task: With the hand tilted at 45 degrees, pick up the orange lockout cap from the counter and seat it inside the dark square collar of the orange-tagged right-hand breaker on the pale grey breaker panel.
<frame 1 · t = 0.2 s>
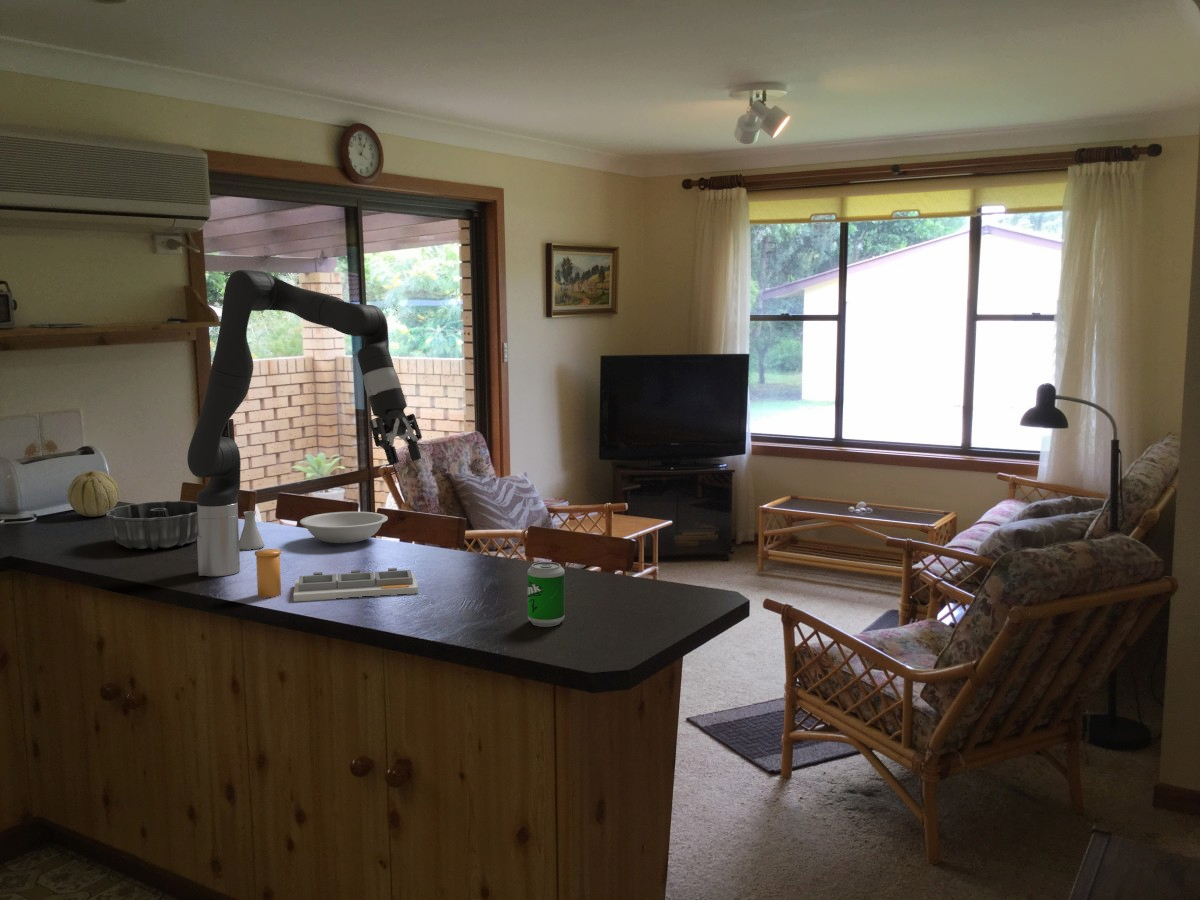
hand: (405, 462, 216), 31 cm above the table, tool tilted 20°, fingers open, 8 cm apart
breaker panel: (356, 589, 227), on the table
bundt pan: (160, 544, 276), on the table
lockout cap: (269, 595, 222), on the table
cantaloupe: (94, 516, 316), on the table
flask: (251, 548, 271), on the table
soda can: (546, 623, 202), on the table
soup bowl: (344, 542, 279), on the table
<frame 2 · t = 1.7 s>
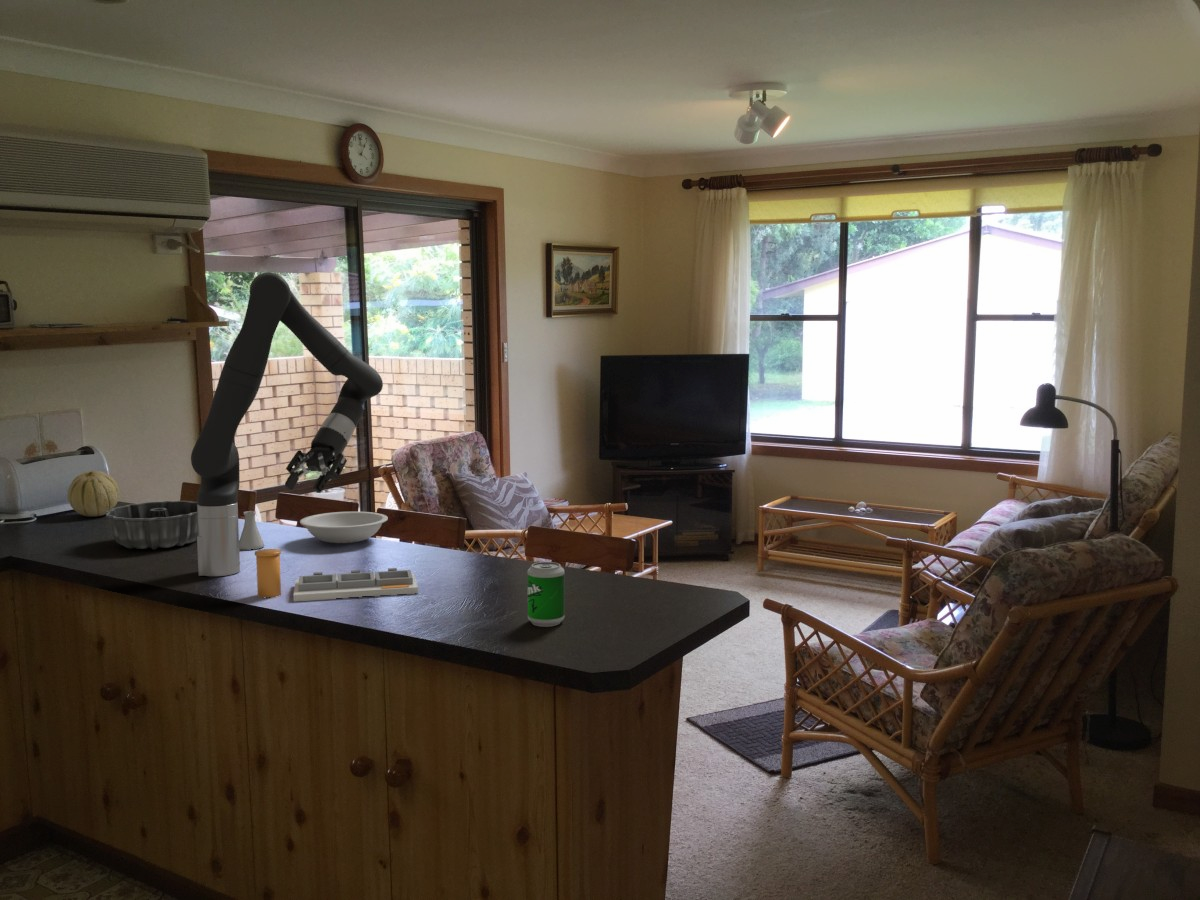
hand: (302, 489, 230), 22 cm above the table, tool tilted 45°, fingers open, 8 cm apart
nothing on the table moved.
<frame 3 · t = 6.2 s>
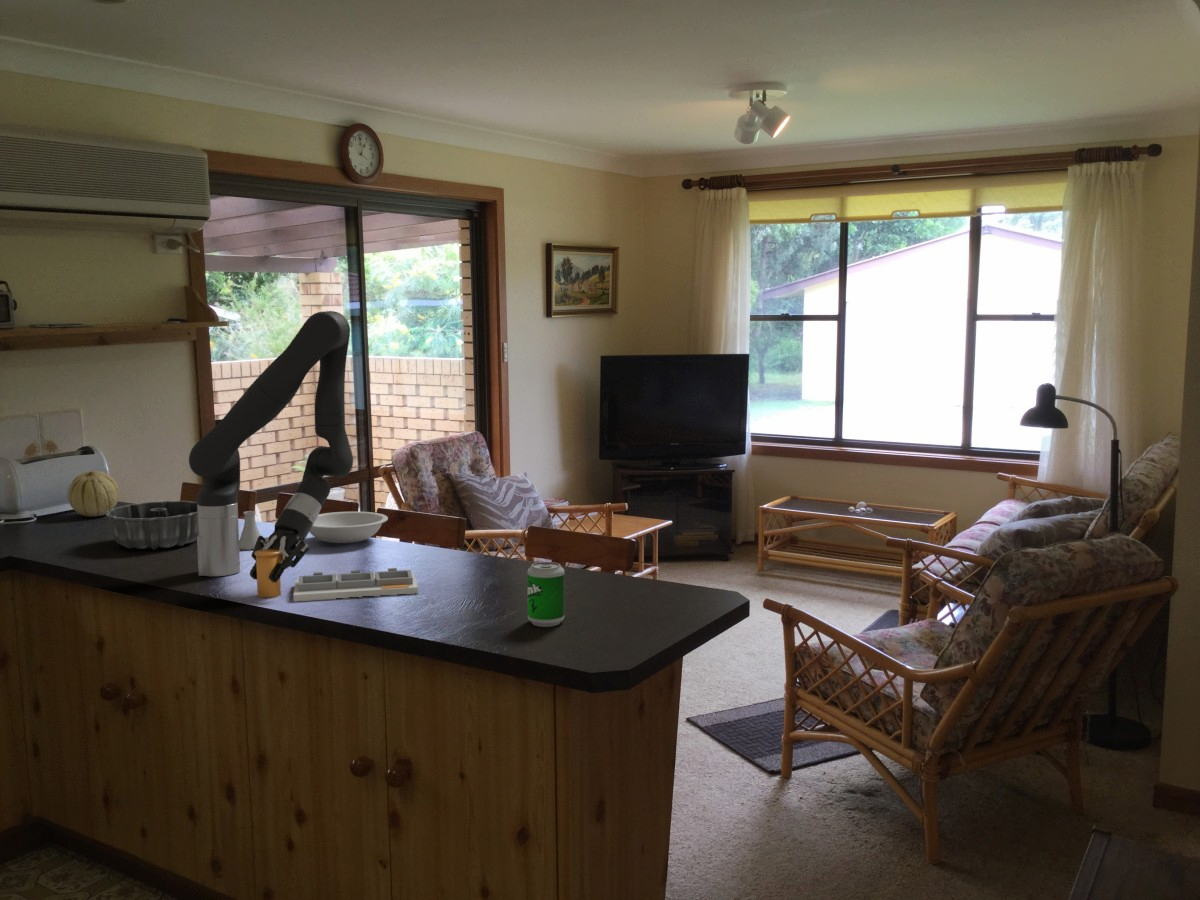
hand: (262, 578, 220), 4 cm above the table, tool tilted 45°, fingers closed on lockout cap, 5 cm apart
lockout cap: (269, 595, 222), on the table, touching gripper
everything else where it was.
when the fingers open (7 cm above the table, at t = 12.5 s): lockout cap drops 1 cm, resting on breaker panel.
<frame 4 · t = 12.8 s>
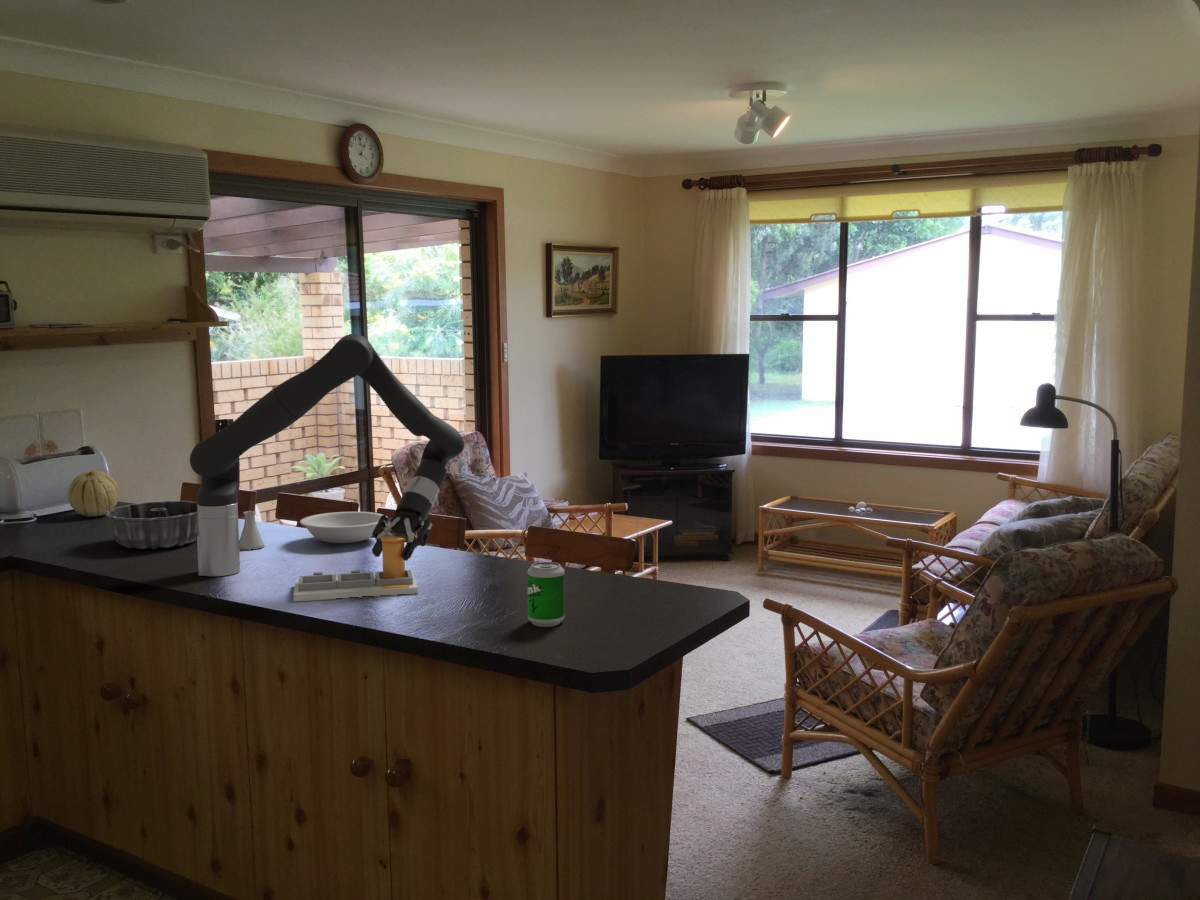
hand: (389, 556, 227), 8 cm above the table, tool tilted 45°, fingers open, 7 cm apart
lockout cap: (394, 579, 229), point 2 cm above the table, touching breaker panel
everything else where it was.
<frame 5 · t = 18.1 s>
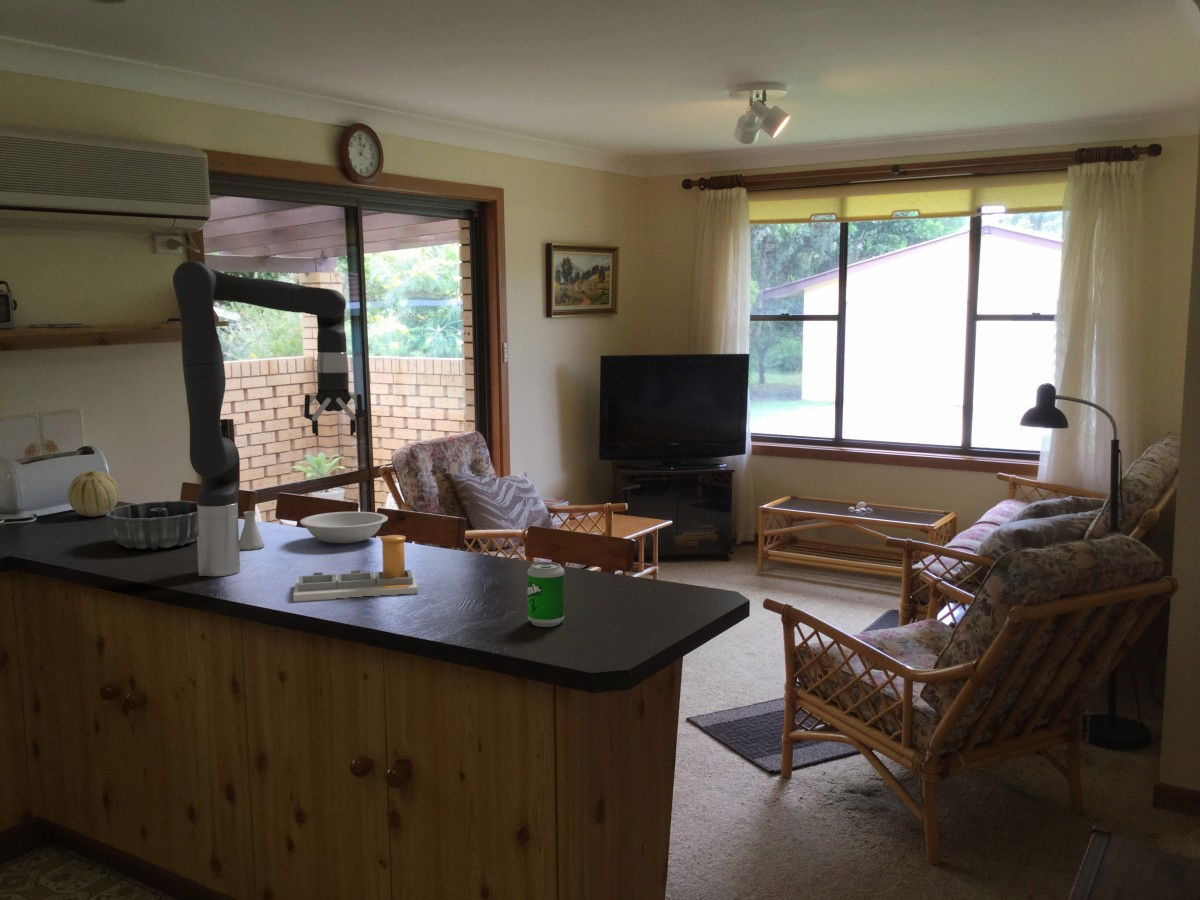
hand: (334, 435, 248), 33 cm above the table, tool pointing down, fingers open, 8 cm apart
nothing on the table moved.
at the end: lockout cap 0.1 cm from the target spot on the breaker panel, point 1.8 cm above the breaker panel's base; lockout cap tilted 0°; the gripper is holding nothing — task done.
